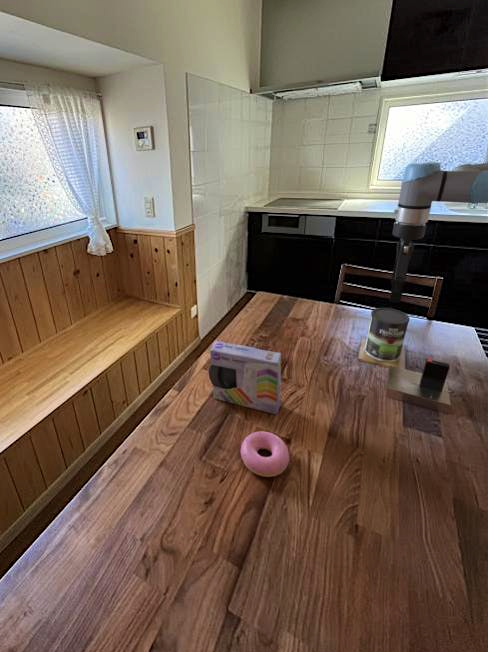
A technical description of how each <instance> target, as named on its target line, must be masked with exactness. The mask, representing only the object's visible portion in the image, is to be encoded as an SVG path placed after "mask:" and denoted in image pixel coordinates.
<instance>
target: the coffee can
mask: <svg viewBox="0 0 488 652" xmlns="http://www.w3.org/2000/svg"><path fill="white" fill-rule="evenodd" d="M409 323H410V317H409V315H408V314H407V313H405V312H403V311H401V310H398V309H395V308H392V307H377V308H374V309H372V310H371V313H370V320H369V325H368V331H367V336H366V339H367V340H366V345H365V352H366V354H367V355H369V356H370V357H372V358H373V359H376V360H379V361H383V362H394V361H397V360H399V358H400V354H401V350H402V347H404V346H403V345H404V341H405V337H406V333H407V330H408V325H409Z"/></svg>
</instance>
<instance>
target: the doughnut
mask: <svg viewBox="0 0 488 652" xmlns="http://www.w3.org/2000/svg"><path fill="white" fill-rule="evenodd" d="M260 450H267V451H268V452H270V453H271V455H269V456H262V455H261V454H260V453H259V452H258V451H260ZM240 457H241V459H242V462H243V464H244V466H245V467H246V468H247V469H248V470H249V471H250V472H252V473H253V474H255V475H256V476H259V477H264V478H272V477H273V478H274V477H276V476H279V475H281V474H282V473H283V472H284V471H285V470H286V469H287V467H288V465H289V464H290V452H289V448H288V446H287V444H286V442H284V440H283V439H281V438H280V436H278V435H276V434H275V433H272V432H270V431H264V430H263V431H261V430H260V431H255V432H252V433H249V434H248V435H247V436H245V437H244V439H243V441H242V443H241V446H240Z"/></svg>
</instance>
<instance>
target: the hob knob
mask: <svg viewBox="0 0 488 652" xmlns="http://www.w3.org/2000/svg"><path fill="white" fill-rule="evenodd" d="M450 368H451V365H450V363H448V362H443V361H438V360H434V359H432V358H425V362H424V366H423V369H422V372H421V373H422V375H421V379H420V386H423V387H427V388H431V389H435V390H439V391H442V390H443V387H444V384H445V380H446V379H447V377H448V374H449V371H450Z"/></svg>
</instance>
